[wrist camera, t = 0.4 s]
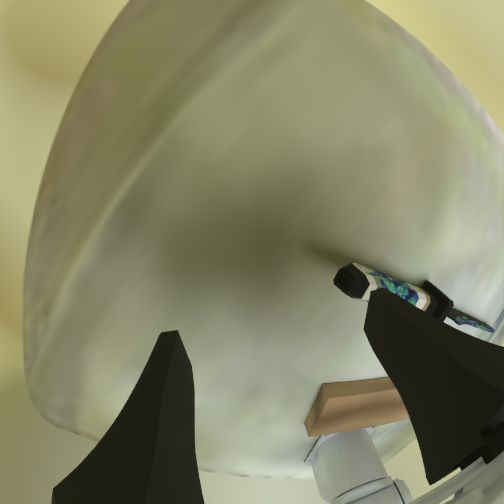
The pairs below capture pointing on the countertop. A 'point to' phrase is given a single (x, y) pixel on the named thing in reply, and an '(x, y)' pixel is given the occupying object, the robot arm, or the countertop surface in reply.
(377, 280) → the knife
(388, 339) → the robot arm
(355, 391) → the walnut board
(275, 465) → the countertop surface
